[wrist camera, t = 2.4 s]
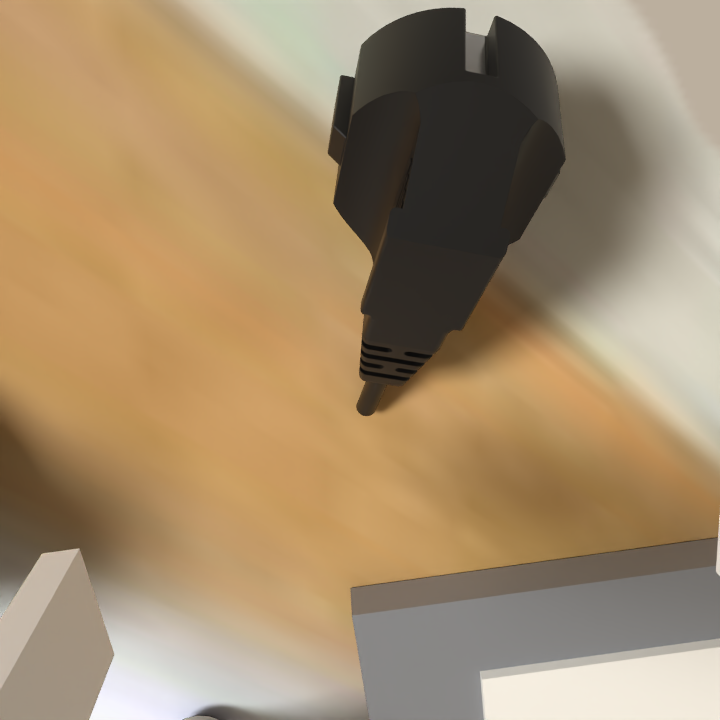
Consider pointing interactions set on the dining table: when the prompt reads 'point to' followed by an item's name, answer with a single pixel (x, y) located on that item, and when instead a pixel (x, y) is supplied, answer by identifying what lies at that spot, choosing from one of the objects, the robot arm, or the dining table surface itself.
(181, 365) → the dining table surface
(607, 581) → the socket board
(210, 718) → the light bulb
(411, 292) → the power plug
